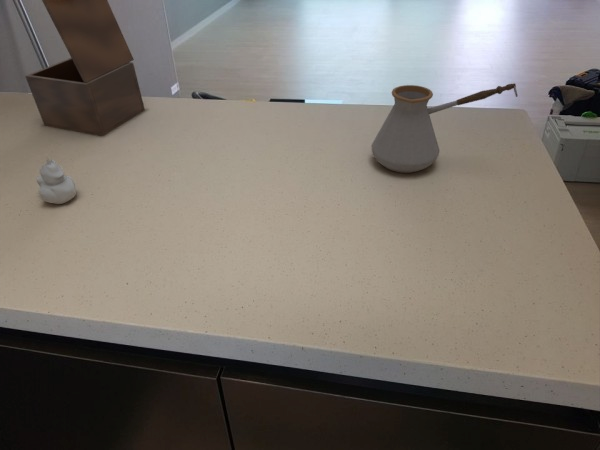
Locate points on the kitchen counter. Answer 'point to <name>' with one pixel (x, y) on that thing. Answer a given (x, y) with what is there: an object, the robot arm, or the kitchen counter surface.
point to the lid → (90, 35)
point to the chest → (86, 98)
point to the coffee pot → (415, 128)
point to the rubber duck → (55, 184)
